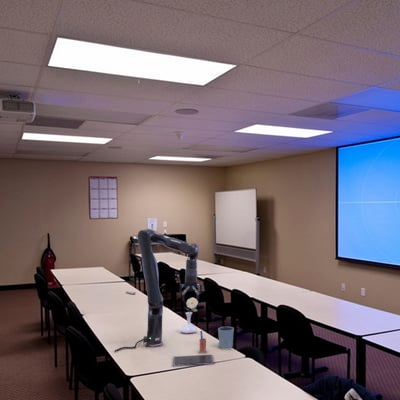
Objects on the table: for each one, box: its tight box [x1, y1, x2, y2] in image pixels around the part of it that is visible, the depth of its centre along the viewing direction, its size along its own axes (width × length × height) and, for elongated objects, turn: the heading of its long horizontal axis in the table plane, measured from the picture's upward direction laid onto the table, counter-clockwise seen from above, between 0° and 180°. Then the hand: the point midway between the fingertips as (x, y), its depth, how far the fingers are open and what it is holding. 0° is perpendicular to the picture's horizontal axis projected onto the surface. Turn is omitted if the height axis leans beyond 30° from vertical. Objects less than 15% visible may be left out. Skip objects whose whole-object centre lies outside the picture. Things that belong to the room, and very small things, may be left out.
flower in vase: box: [180, 297, 199, 334], centre depth 302 cm, size 13×11×25 cm
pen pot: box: [198, 337, 207, 354], centre depth 259 cm, size 4×4×8 cm
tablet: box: [172, 354, 214, 367], centre depth 244 cm, size 22×14×1 cm, turn 101°
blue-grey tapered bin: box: [217, 326, 235, 350], centre depth 270 cm, size 10×10×12 cm
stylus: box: [199, 330, 204, 340], centre depth 259 cm, size 1×1×13 cm
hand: (190, 300), depth 270 cm, fingers open, 8 cm apart
